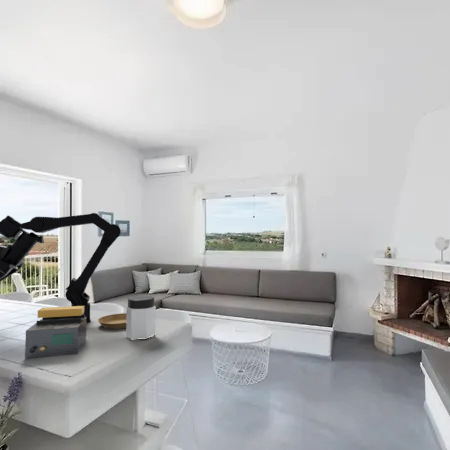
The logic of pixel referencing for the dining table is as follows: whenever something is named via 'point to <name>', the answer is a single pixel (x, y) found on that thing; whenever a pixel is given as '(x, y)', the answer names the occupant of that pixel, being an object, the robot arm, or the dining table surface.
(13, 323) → the dining table surface
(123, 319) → the plant saucer
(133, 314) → the jar
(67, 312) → the key
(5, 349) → the dining table surface
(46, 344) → the box
